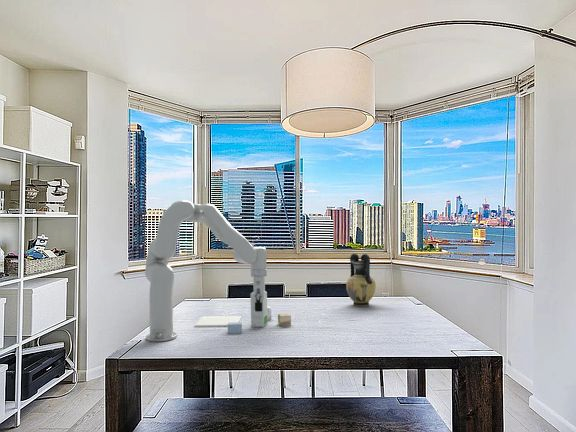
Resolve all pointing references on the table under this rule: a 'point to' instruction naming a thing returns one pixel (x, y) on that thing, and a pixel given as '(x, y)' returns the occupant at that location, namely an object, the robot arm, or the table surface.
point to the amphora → (360, 281)
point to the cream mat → (216, 321)
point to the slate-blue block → (235, 327)
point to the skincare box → (259, 312)
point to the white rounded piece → (268, 313)
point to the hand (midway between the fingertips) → (259, 309)
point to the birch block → (284, 319)
